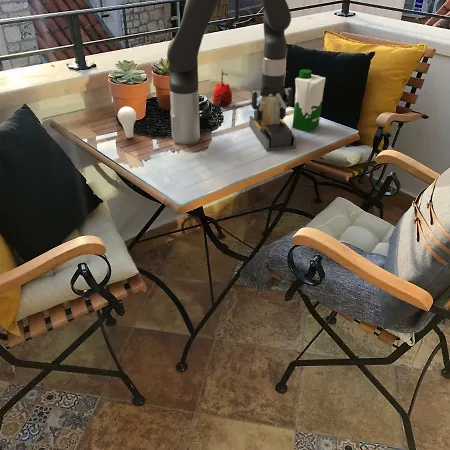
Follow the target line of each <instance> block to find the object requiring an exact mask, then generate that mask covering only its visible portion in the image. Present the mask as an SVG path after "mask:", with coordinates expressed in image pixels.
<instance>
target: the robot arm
mask: <svg viewBox="0 0 450 450" xmlns="http://www.w3.org/2000/svg"><path fill="white" fill-rule="evenodd" d="M259 2H261V4H262V7H263V9H264V12H263V24H262V25H263V35H264V37H263V38H264V46H263V59H262V65H261V66H262V67H261V87H260V90H255V89H251V90H252V91H251V100H250V101H251V103H250V104H251V108H252V109H253V111H254V110H257V115H256V117H257V119H258V120H259V121H262V109H263V107H264V106H265V105H266V103H265V102H266V99H265V100H264V101H263V102H262V97H272V96H277V98H278V100H279V102H280V104H281V114H280V119H281V120H284V118H286V114H287V113H286V111H287V109H288V108H291V107H292V105H293V98H294V97H293V96H294V90H293V89H292V87H288V88H285V84H286V83H285V81H286V69H287V60H286V59H287V47H288V44H287V39H286V37H285V30H287V29H288V28H289V27H290V25H291V21H292V13H291V10H290V8H289V4H288V3H287V1H286V0H259ZM219 3H220V0H185V3H184V4H185V5H184V9H183V16H182V18H181V22H180V25H179V27H178V30H177V32H176V34H175V36H174V37H173V38H172V39H171V40H170V42H169V44H168V47H167V53H166V58H167V62H168V73H169V75H168V76H169V77H168V80H169V81H168V83H169V98H170V110H169V112H170V113H169V114H170V122H171V125H170V126H171V127H170V129H171V137H172V138H171V139H172V140H173V143H174V144H181V145H190V144H195V143H197V142H199V141H200V138H201V135H200V131H201V130H200V129H201V128H200V103H199V102H200V100H199V96H200V95H199V94H200V93H199V66H198V65H199V64H198V63H199V62H198V59H199V58H198V57H199V52H200V50H201V49H200V48H201V45H202V41H203V39H204V38H203V37H204V35H205V33H206V30H207V27H208V25H209V24H210V22H211V20H212V17H213V15H214V14H215V11H216V9H217V7H218V4H219ZM284 94H285V95H286V101H284V100H283V98H281V97H283V96H284ZM260 96H261V97H260ZM259 97H260V99H259ZM258 99H259V102H258Z"/></svg>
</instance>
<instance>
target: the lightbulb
mask: <svg viewBox="0 0 450 450" xmlns="http://www.w3.org/2000/svg"><path fill="white" fill-rule="evenodd" d="M117 119H118V121H119V122H120V124H121V125H122V127H123V131H124V132H125V138H128V139H131V138H133V137H134V124H135V122H136V121H137V112H136V110H134V109H133V108H132V107H130V106H123V107H121V108H120V109H119V111H118V113H117Z"/></svg>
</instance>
